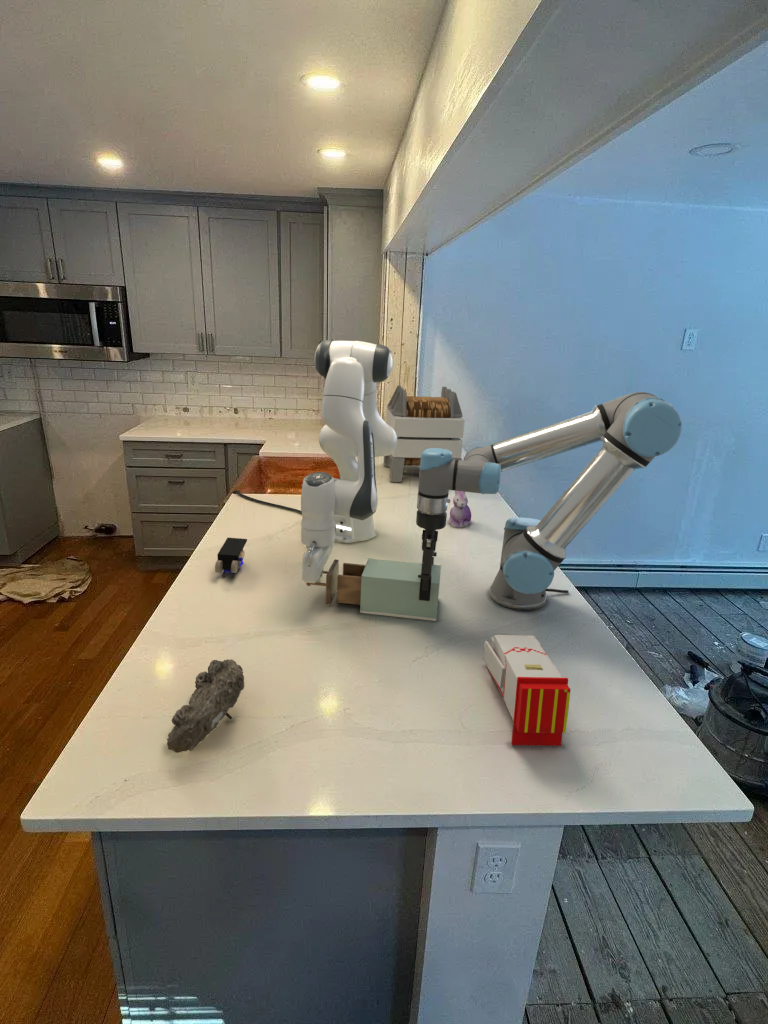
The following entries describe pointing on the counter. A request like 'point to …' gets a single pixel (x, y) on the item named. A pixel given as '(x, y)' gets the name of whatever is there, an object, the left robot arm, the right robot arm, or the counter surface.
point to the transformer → (422, 428)
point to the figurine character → (230, 556)
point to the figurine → (460, 510)
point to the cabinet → (397, 590)
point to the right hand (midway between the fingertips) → (425, 589)
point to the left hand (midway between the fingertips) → (317, 582)
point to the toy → (529, 689)
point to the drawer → (343, 583)
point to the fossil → (206, 705)
